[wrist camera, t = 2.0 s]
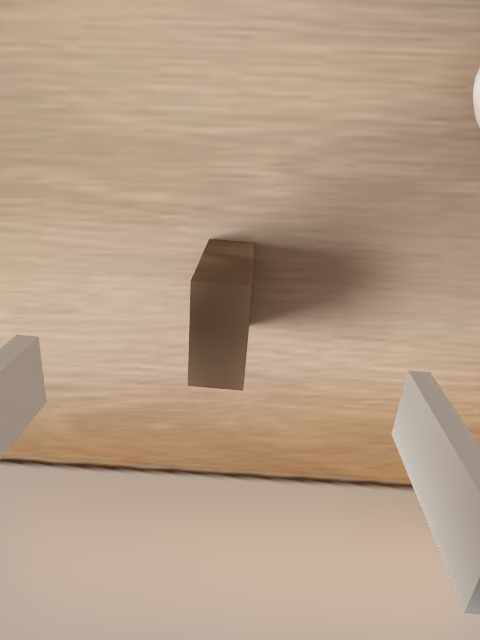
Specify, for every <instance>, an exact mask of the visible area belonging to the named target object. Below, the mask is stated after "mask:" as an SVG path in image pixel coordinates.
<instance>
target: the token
mask: <svg viewBox="0 0 480 640" xmlns="http://www.w3.org/2000/svg"><path fill="white" fill-rule="evenodd" d="M253 264H254V243H247V242H235V241H223V240H211V239H209V241H208V243H207V245H206V248H205V250H204V252H203V254H202V257H201V259H200V261H199V264H198V266H197V268H196V270H195V273H194V275H193V277H192V280H191V294H190V329H189V363H188V386H196V387H207V388H219V389H231V390H243V386H244V375H245V364H246V353H247V342H248V330H249V319H250V308H251V297H252V286H253Z"/></svg>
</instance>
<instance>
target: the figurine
mask: <svg viewBox="0 0 480 640" xmlns="http://www.w3.org/2000/svg"><path fill="white" fill-rule="evenodd" d="M473 106H474V113H475V117H476V121H477V123H478V125H479V127H480V68H479V70H478V73H477V75H476V78H475V82H474V87H473Z"/></svg>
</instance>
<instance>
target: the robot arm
mask: <svg viewBox="0 0 480 640" xmlns="http://www.w3.org/2000/svg"><path fill="white" fill-rule="evenodd" d="M45 403H46V394H45V386H44V378H43V370H42V362H41V354H40V346H39V338H38V337H35V336H24V335H16V336H15V337H14V338H13V339H12V340H10V341H9V342H8V343H7V344H6V345H4V346H3V347H2V348H1V349H0V459H1V458H2V456H3V455H4V454H5V453H6V451H7V450H8V449H9V448H10V446H11V445H12V444H13V443H14V441H15V440H16V439H17V438H18V436H19V435H20V434H21V433H22V431H23V430H24V429H25V428H26V426H27V425H28V424H29V423H30V421H31V420H32V419H33V418H34V416H35V415H36V414H37V413H38V411H39V410H40V409H41V408H42V407H43V405H44V404H45ZM392 437H393V439H394V442H395V444H396V446H397V449H398V451H399V454H400V456H401V459H402V461H403V464H404V466H405V468H406V471H407V473H408V476H409V478H410V481H411V483H412V486H413V488H414V491H415V493H416V495H417V498H418V500H419V503H420V505H421V507H422V510H423V513H424V515H425V517H426V520H427V522H428V525H429V527H430V530H431V532H432V535H433V537H434V539H435V542H436V544H437V547H438V549H439V552H440V554H441V557H442V559H443V562H444V564H445V566H446V569H447V571H448V574H449V576H450V579H451V581H452V583H453V586H454V588H455V591H456V593H457V596H458V598H459V601H460V603H461V606H462V608H463V610H464V612H465V613H474V614H480V446H479V445H478V443H477V442H476V440H475V439H474V437H473V436H472V434H471V433H470V431H469V430H468V428H467V427H466V425H465V424H464V422H463V421H462V419H461V418H460V416H459V415H458V413H457V412H456V410H455V409H454V407H453V406H452V404H451V403H450V401H449V400H448V398H447V397H446V395H445V394H444V392H443V391H442V389H441V388H440V386H439V385H438V383H437V382H436V380H435V379H434V378H433V376H432V375H431V373H429V372H418V371H408V374H407V377H406V381H405V385H404V389H403V393H402V396H401V400H400V404H399V408H398V412H397V415H396V419H395V423H394V427H393V431H392Z"/></svg>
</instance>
